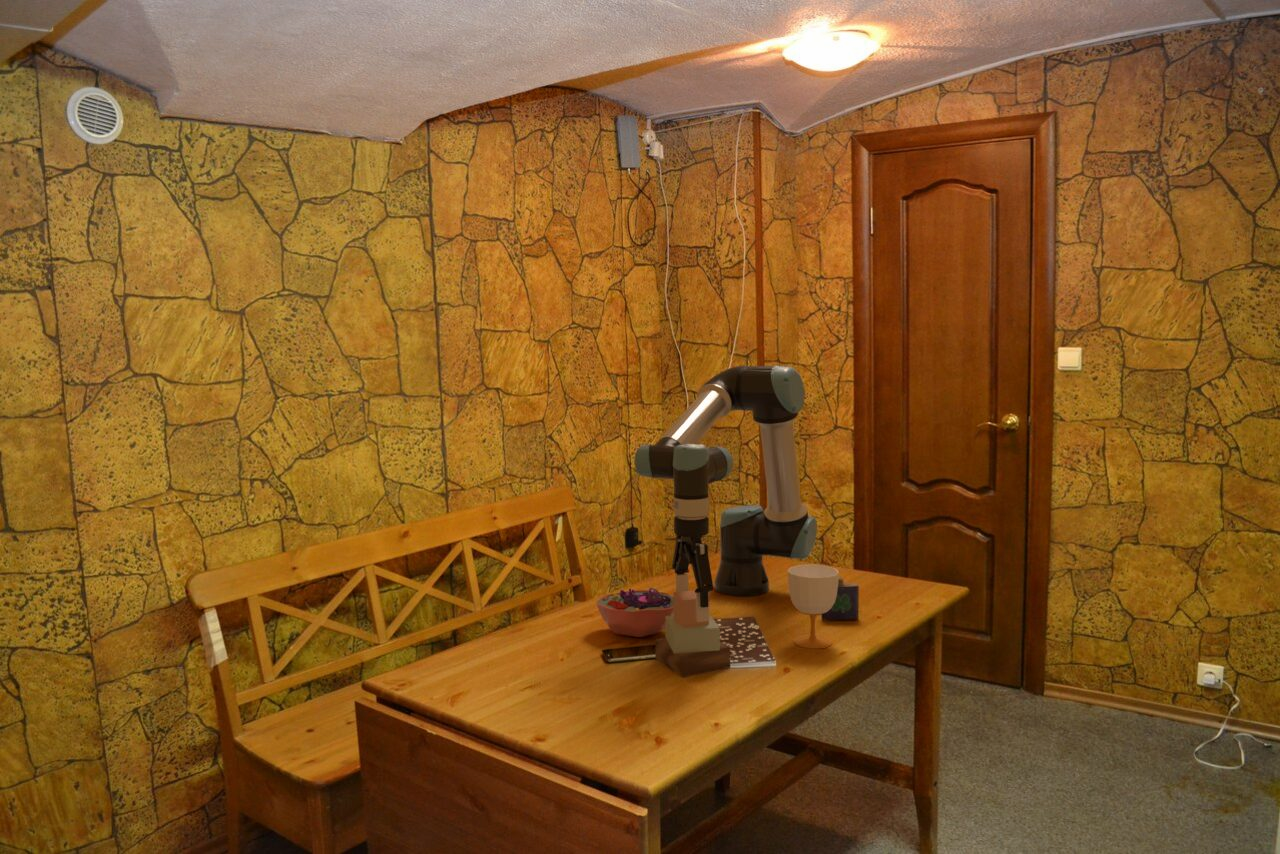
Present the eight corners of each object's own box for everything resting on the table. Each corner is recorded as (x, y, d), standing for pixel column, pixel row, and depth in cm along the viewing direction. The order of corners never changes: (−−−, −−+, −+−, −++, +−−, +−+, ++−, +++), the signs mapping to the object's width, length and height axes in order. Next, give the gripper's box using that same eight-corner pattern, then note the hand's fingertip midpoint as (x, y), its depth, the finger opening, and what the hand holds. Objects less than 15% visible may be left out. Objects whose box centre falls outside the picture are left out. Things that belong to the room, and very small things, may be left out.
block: (673, 619, 205) (673, 592, 204) (698, 616, 207) (698, 589, 206) (683, 627, 200) (683, 600, 199) (709, 624, 201) (709, 597, 201)
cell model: (606, 620, 235) (605, 576, 234) (684, 624, 231) (683, 580, 230) (589, 643, 219) (587, 596, 217) (672, 648, 215) (672, 600, 213)
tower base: (655, 661, 207) (655, 639, 207) (701, 652, 213) (701, 631, 212) (682, 679, 197) (682, 656, 196) (730, 669, 202) (730, 646, 202)
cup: (848, 641, 217) (848, 569, 215) (820, 654, 208) (821, 580, 207) (805, 630, 225) (805, 561, 223) (777, 643, 216) (777, 571, 215)
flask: (857, 617, 234) (857, 576, 233) (859, 621, 231) (860, 579, 230) (820, 617, 235) (820, 576, 233) (822, 621, 232) (822, 579, 230)
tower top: (665, 637, 208) (665, 616, 207) (709, 635, 209) (709, 613, 209) (674, 653, 198) (673, 630, 197) (719, 650, 200) (719, 627, 199)
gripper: (657, 506, 212) (659, 597, 214) (693, 529, 188) (694, 631, 190) (688, 504, 214) (689, 594, 216) (728, 526, 190) (729, 627, 192)
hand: (692, 611), depth 203 cm, fingers open, 13 cm apart
